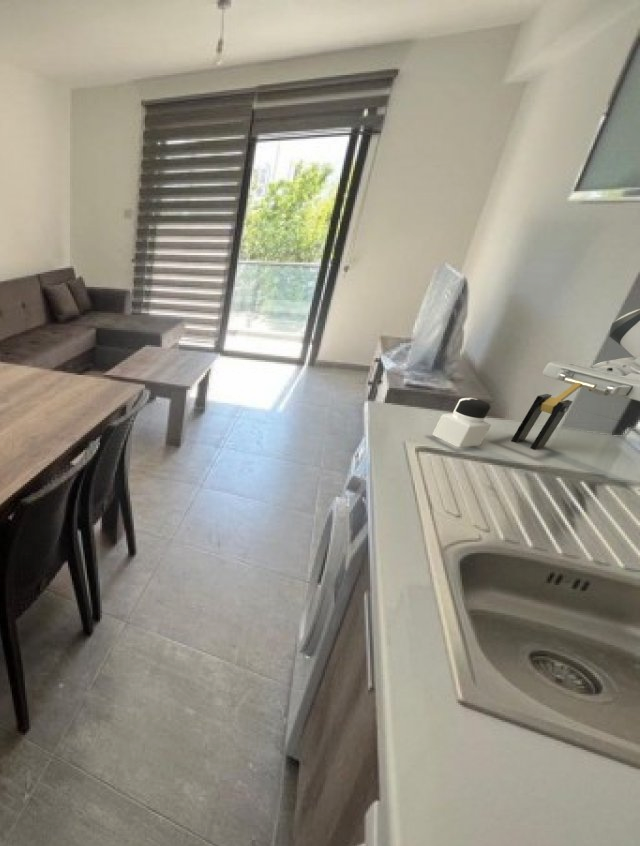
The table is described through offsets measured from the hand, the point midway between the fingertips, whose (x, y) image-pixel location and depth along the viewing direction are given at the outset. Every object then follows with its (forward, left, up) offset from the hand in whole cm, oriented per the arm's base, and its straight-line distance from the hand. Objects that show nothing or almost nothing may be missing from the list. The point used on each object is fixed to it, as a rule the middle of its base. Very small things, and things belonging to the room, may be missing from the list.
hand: (584, 383), depth 117 cm
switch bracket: (0, +11, -17) cm, 20 cm away
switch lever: (0, +6, -3) cm, 7 cm away
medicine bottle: (+8, +27, -17) cm, 33 cm away
